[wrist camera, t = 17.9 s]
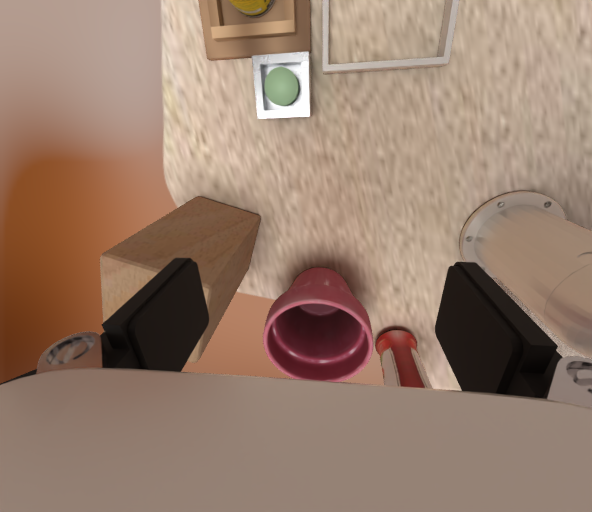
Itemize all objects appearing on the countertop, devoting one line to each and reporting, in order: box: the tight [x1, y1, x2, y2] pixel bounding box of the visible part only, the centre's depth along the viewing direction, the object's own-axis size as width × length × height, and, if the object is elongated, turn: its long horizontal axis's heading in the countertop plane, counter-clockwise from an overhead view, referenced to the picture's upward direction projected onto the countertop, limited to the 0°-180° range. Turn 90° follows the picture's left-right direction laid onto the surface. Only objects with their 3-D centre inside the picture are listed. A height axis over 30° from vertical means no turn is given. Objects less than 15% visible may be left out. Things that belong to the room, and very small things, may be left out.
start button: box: [265, 67, 300, 106], centre depth 31 cm, size 4×4×2 cm
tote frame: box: [323, 0, 459, 74], centre depth 29 cm, size 13×11×2 cm
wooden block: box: [100, 196, 260, 363], centre depth 35 cm, size 10×10×20 cm
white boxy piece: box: [252, 52, 312, 119], centre depth 32 cm, size 6×6×4 cm
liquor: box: [375, 330, 433, 389], centre depth 37 cm, size 7×7×28 cm
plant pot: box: [263, 267, 373, 382], centre depth 41 cm, size 14×14×13 cm
